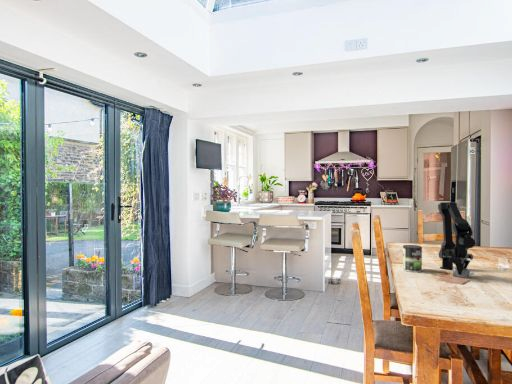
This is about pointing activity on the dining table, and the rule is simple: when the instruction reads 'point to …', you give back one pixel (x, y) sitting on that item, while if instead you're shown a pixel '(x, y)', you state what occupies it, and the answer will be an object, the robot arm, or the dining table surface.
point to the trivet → (453, 279)
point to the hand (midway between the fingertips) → (461, 273)
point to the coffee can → (412, 258)
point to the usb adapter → (464, 273)
